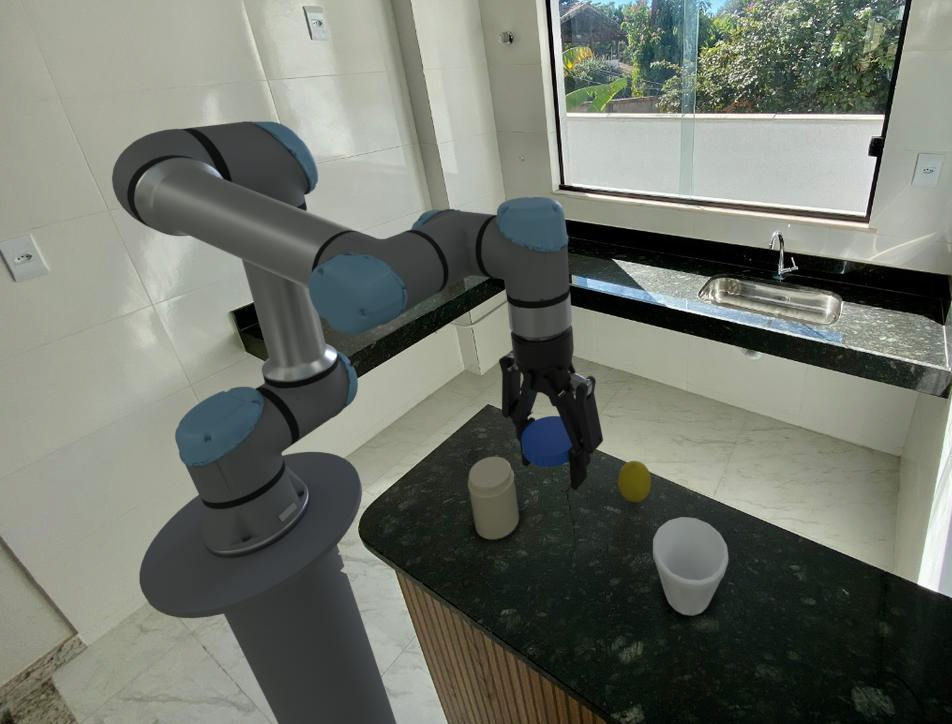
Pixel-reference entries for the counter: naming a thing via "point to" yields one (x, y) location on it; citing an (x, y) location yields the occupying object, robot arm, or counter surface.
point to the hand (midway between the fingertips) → (554, 470)
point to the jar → (493, 497)
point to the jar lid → (546, 442)
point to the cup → (689, 563)
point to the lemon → (634, 481)
